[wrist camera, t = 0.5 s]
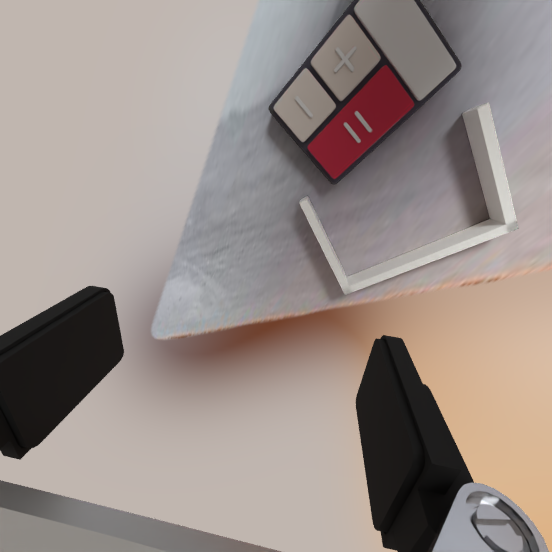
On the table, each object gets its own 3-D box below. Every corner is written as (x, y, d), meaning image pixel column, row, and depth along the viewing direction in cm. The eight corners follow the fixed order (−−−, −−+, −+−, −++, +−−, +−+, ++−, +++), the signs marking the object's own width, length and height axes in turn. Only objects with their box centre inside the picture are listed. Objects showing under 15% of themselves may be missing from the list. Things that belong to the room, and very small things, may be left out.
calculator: (265, 107, 28) (392, -53, 21) (273, 112, 31) (383, -23, 25) (333, 187, 30) (468, 64, 23) (333, 182, 34) (449, 75, 27)
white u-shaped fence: (472, 107, 28) (488, 102, 25) (501, 222, 32) (518, 228, 29) (300, 199, 34) (299, 203, 31) (343, 285, 38) (344, 295, 35)
